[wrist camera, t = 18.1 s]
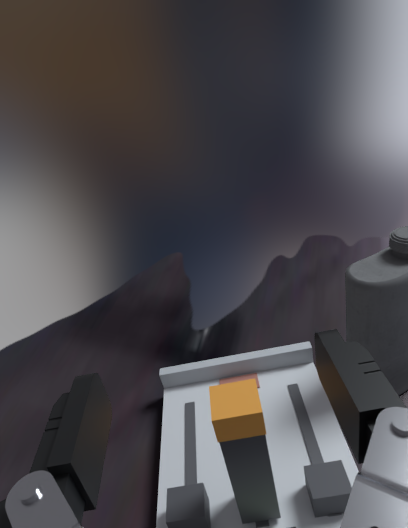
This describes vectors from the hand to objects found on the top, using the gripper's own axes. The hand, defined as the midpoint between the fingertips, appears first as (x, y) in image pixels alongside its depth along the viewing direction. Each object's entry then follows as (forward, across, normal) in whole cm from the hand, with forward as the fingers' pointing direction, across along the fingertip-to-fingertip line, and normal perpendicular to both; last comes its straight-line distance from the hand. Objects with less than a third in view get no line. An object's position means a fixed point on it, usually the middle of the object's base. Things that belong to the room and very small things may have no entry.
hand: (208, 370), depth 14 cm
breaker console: (+16, -1, +30) cm, 34 cm away
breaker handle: (+10, -1, +27) cm, 29 cm away
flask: (+25, -22, +30) cm, 44 cm away
